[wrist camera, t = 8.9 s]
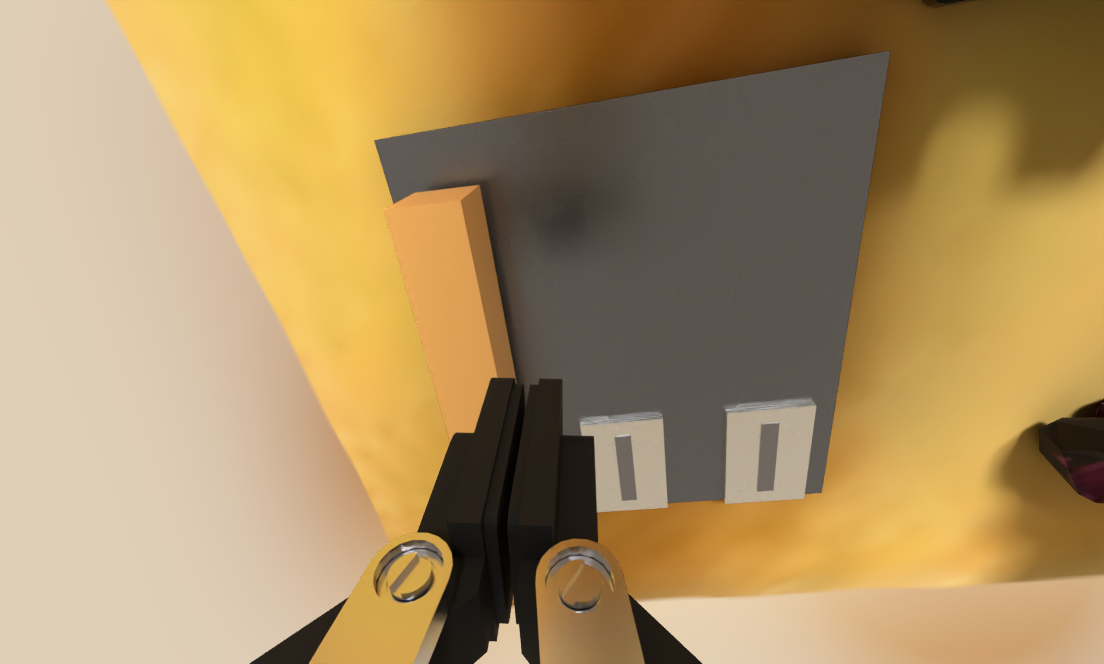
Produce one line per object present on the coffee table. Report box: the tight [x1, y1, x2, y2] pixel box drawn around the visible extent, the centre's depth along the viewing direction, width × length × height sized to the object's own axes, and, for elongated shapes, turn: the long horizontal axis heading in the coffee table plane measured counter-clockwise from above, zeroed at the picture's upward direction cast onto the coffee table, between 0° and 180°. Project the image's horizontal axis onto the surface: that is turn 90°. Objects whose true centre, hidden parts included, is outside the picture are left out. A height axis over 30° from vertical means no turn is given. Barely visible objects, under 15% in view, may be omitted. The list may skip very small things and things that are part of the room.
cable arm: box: [384, 185, 517, 442], centre depth 19 cm, size 18×3×3 cm, turn 7°
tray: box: [374, 51, 890, 512], centre depth 20 cm, size 20×18×2 cm
